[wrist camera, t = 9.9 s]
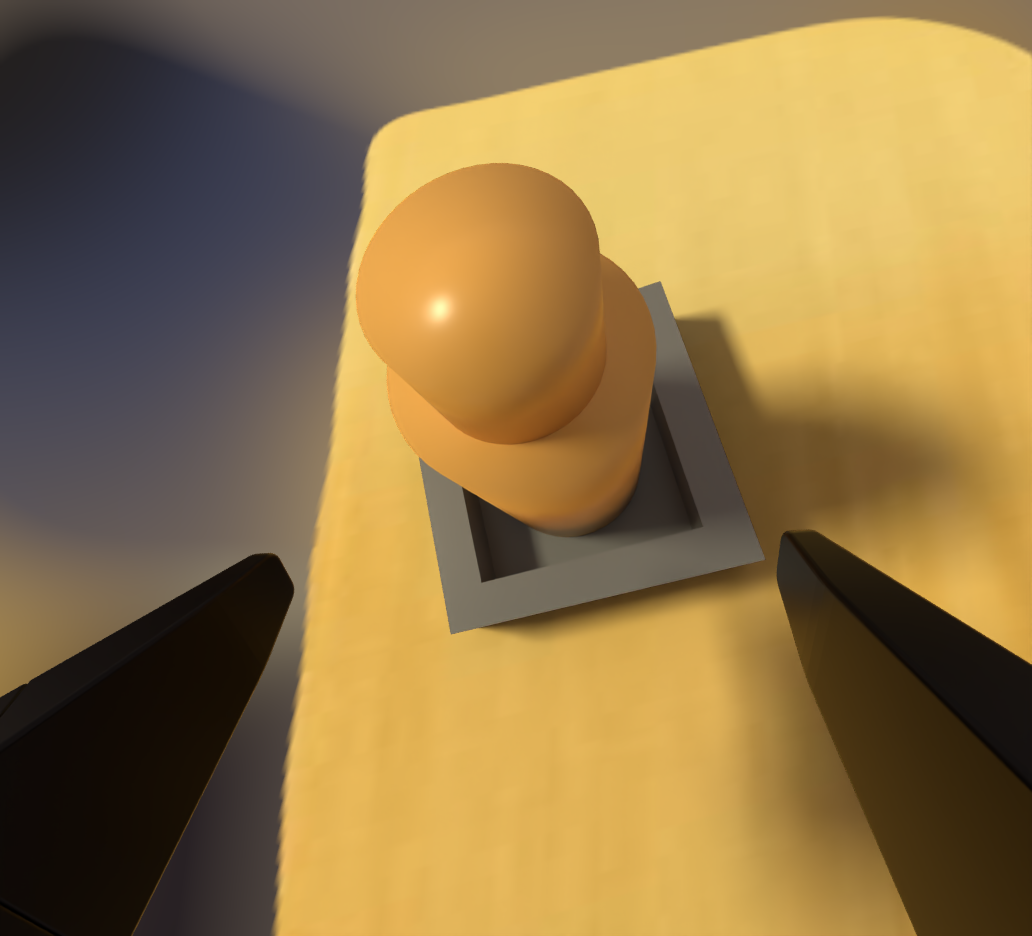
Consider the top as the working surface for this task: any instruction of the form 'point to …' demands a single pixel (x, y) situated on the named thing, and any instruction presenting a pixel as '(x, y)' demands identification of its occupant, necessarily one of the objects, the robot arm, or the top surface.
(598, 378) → the peach lotion bottle
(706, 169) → the top surface
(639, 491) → the socket
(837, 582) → the robot arm
